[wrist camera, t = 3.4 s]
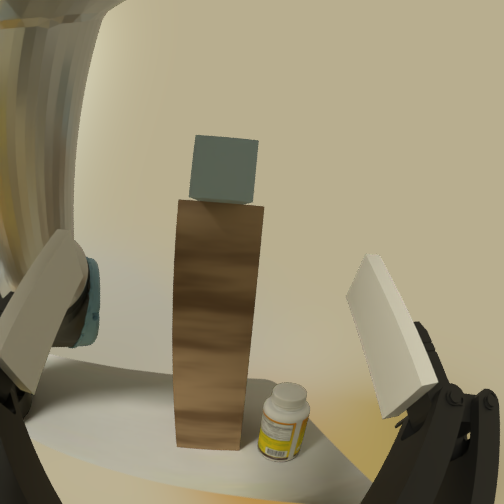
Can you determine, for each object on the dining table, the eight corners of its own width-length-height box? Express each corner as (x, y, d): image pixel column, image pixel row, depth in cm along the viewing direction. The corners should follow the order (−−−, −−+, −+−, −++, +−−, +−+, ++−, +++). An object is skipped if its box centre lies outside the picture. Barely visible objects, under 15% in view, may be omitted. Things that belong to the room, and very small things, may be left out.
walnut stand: (239, 450, 31) (264, 206, 27) (176, 446, 31) (178, 199, 27) (235, 406, 41) (253, 207, 37) (183, 403, 40) (190, 202, 36)
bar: (252, 202, 18) (258, 140, 18) (188, 196, 18) (195, 135, 17) (236, 206, 40) (239, 177, 40) (207, 203, 40) (209, 174, 39)
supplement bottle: (287, 433, 36) (299, 375, 34) (306, 457, 31) (323, 398, 29) (250, 440, 34) (258, 382, 32) (266, 468, 28) (278, 408, 27)
